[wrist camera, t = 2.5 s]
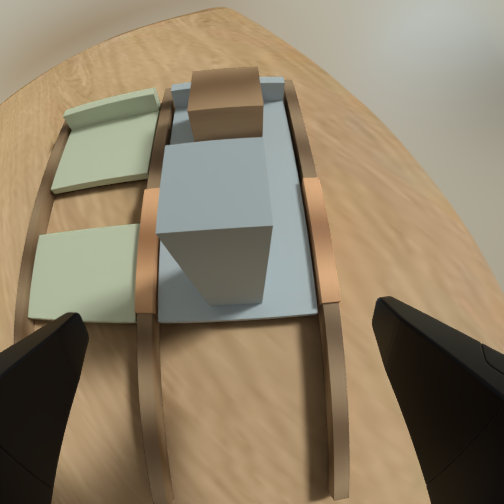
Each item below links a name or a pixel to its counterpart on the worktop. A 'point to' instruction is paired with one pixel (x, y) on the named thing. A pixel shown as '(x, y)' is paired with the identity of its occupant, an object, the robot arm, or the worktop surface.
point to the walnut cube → (226, 104)
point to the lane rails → (148, 298)
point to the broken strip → (105, 238)
